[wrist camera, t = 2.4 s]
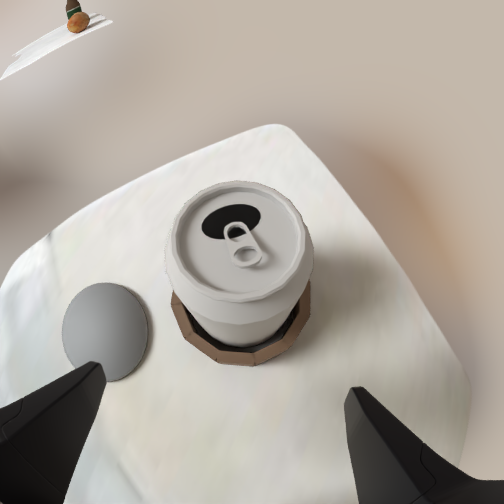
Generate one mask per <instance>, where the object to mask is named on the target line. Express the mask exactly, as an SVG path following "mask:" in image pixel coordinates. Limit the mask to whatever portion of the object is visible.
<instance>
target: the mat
mask: <svg viewBox="0 0 504 504" xmlns="http://www.w3.org/2000/svg"><path fill="white" fill-rule="evenodd" d="M147 339H148V326H147V320H146V316H145V313H144V311H143V308H142V307H141V305H140V303H139V302H138V300H137V299H136V298H135V297H134V296H133V295H132V294H131V293H130V292H129V291H127V290H126V289H125V288H123V287H121V286H119V285H116V284H112V283H97V284H93V285H91V286H89V287H87V288H85V289H83V290H82V291H81V292H79V293H78V294H77V295H76V296H75V298H74V299H73V300H72V301H71V303H70V304H69V306H68V308H67V310H66V313H65V316H64V319H63V324H62V341H63V346H64V350H65V353H66V355H67V357H68V359H69V361H70V362H71V364H72V365H73V366H74V368H75V369H76V368H78V367H80V366H82V365H84V364H85V363H87V362H89V361H95V362H99V363H101V365H102V367H103V370H104V373H105V376H106V380H107V382H109V381H115V380H119V379H121V378H123V377H125V376H126V375H128V374H129V373H130V372H132V371H133V370H134V369H135V367H136V366H137V365H138V364H139V362H140V360H141V359H142V357H143V354H144V352H145V349H146V345H147Z"/></svg>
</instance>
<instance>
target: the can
mask: <svg viewBox="0 0 504 504" xmlns="http://www.w3.org/2000/svg"><path fill="white" fill-rule="evenodd" d="M313 252H314V247H313V244H312V240H311V237H310V234H309V231H308V228H307V226H306V225H305V224H304V222H303V219H302V216H301V214H300V213H299V212H298V210H297V209H296V208H295V206H294V205H293V204H292V202H291V201H290V200H289V199H287V198H286V197H285V196H283V195H282V194H281V193H279V192H278V191H276V190H275V189H273V188H270V187H267V186H265V185H262V184H259V183H256V182H247V181H231V182H224V183H218V184H216V185H213V186H211V187H208V188H206V189H204V190H201V191H200V192H198V193H197V194H196V195H195V196H193V197H192V198H191V199H190V200H188V201H187V202H186V203H185V204H184V206H183V207H182V208H181V210H180V211H179V213H178V214H177V216H176V217H175V219H174V222H173V225H172V228H171V230H170V232H169V236H168V239H167V243H166V246H165V250H164V254H165V270H166V274H167V276H168V278H169V281H170V283H171V285H172V288H173V290H174V292H175V293H176V295H177V296H178V297H179V299H180V300H181V301H182V303H183V304H184V305H185V306H186V308H187V309H188V310H189V311H190V313H191V314H192V315H193V316H194V318H195V319H196V320H197V321H198V323H199V324H200V325H201V326H202V328H203V329H204V330H205V331H206V332H207V333H208V334H209V335H210V336H211V337H212V338H213V339H215V340H217V341H219V342H221V343H223V344H225V345H227V346H233V347H241V348H244V347H250V346H255V345H259V344H261V343H262V342H264V341H266V340H268V339H270V338H271V337H272V336H273V335H274V334H275V333H276V332H277V331H278V330H279V329H280V328H281V326H282V325H283V323H284V322H285V320H286V319H287V317H288V315H289V314H290V312H291V311H292V309H293V307H294V306H295V304H296V303H297V301H298V299H299V298H300V296H301V294H302V293H303V291H304V290H305V287H306V285H307V282H308V280H309V277H310V275H311V272H312V270H313Z"/></svg>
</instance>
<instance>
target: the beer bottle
mask: <svg viewBox="0 0 504 504" xmlns="http://www.w3.org/2000/svg"><path fill="white" fill-rule="evenodd" d="M66 12H67V16H68V19H70V18H71V17H72V16H73V15H74V14H75V13H77V12H82V11H81V7H80V3H79V2H78V1H77V0H67V5H66Z"/></svg>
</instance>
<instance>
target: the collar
mask: <svg viewBox="0 0 504 504" xmlns="http://www.w3.org/2000/svg"><path fill="white" fill-rule="evenodd" d="M309 280H310V279H309ZM309 280H308V282H307V285H306V287H305V290H304V291H303V293H302V294H301V296H300V298H299V299H298V301H297V303H296V304H295V306H294V307H293V322H292V323H291V325H290V326H289V328H288V329H287V331H286V333H285V334H284V336H283V337H282V339H281V340H279V341H277V342H275V343H273V344H271V345H269V346H267V347H265V348H263V349H261V350H259V351H257V352H255V353H242V352H230V351H220V350H218V349H217V348H215V347H214V346H212V345H211V344H210V343H208V342H207V341H205V340H204V339H203V338H201V337H200V336H199V335H198V332H197V330H196V328H195V326H194V323H193V321H192V319H191V316H190V314H189V310H188V309H187V308H186V306H185V305H184V304H183V303H182V301H181V300H180V299H179V297H178V296H177V295H176V293H175V292H174V290H173V293H172V299H171V305H172V306H171V307H172V310H173V312H174V315H175V317H176V320H177V322H178V325H179V327H180V330H181V332H182V334H183V337H184V338H185V340H187V341H188V342H189V343H191V344H192V345H193V346H195V347H196V348H197V349H199V350H200V351H202V352H203V353H204V354H206V355H207V356H209V357H210V358H211V359H213V360H214V361H216V362H218V363H220V364H228V365H240V366H254V365H255V366H256V365H258V364H260V363H263V362H265V361H267V360H269V359H271V358H273V357H275V356H277V355H279V354H281V353H283V352H285V351H286V350H287V349H289V348H290V347H291V346H292V344H293V343H294V341H295V339H296V338H297V336H298V335H299V333H300V331H301V330H302V328H303V327H304V325H305V323H306V322H307V320H308V318H309V317H310V316H309V315H310V281H309Z"/></svg>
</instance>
